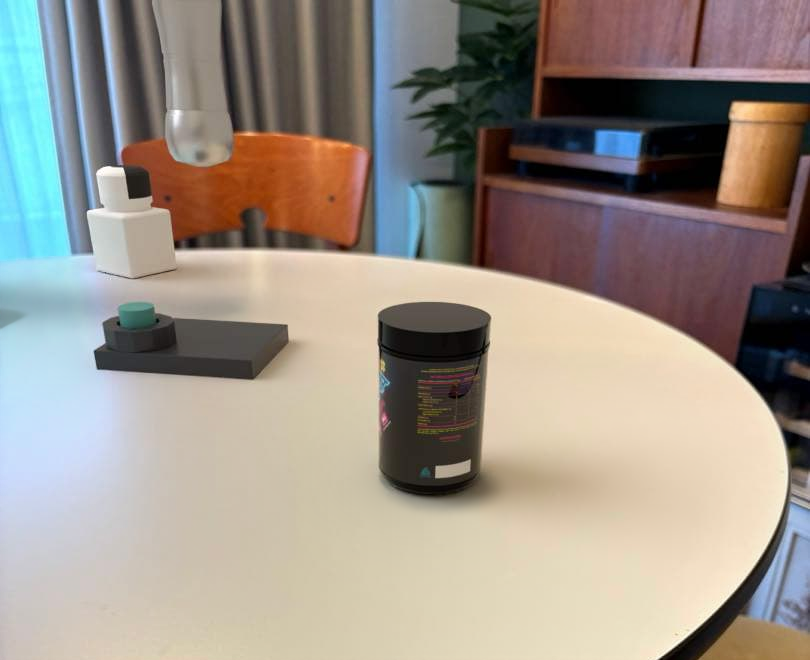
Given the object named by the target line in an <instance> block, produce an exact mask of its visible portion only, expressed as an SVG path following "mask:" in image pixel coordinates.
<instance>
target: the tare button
mask: <svg viewBox="0 0 810 660" xmlns="http://www.w3.org/2000/svg"><path fill="white" fill-rule="evenodd" d="M117 312H118V316H119V319H120V325H121V327H128V328H140V327H148V326H152V325H156V324H157V323H156V316H155V313H156V309H155V305H154V303H151V302H146V301H132V302H126V303H122V304H120V305H119V306H118V307H117Z"/></svg>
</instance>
